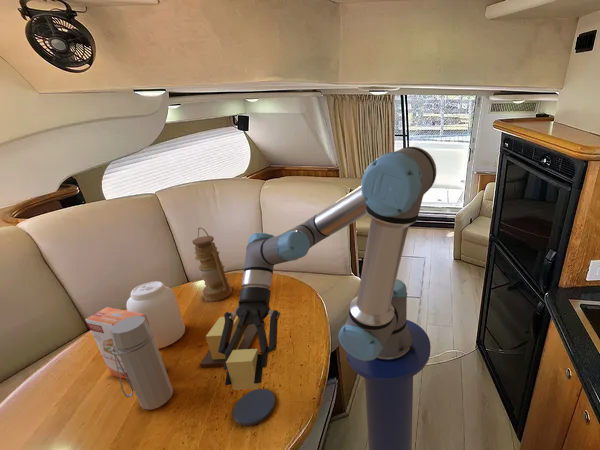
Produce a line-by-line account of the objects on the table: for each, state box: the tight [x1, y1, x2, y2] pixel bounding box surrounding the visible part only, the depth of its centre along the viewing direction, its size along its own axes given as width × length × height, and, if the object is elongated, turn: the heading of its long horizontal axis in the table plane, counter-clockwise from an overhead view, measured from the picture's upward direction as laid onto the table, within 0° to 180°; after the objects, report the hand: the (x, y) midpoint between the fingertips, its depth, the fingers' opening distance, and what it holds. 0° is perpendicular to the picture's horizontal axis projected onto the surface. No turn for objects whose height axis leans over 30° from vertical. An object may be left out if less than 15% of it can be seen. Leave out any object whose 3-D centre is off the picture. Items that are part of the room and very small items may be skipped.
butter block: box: [205, 315, 244, 360], centre depth 98 cm, size 6×9×9 cm, turn 4°
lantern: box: [191, 227, 233, 303], centre depth 125 cm, size 15×10×30 cm
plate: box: [232, 388, 276, 427], centre depth 82 cm, size 10×10×1 cm
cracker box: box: [85, 306, 167, 381], centre depth 88 cm, size 14×6×21 cm, turn 76°
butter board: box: [199, 324, 258, 368], centre depth 103 cm, size 12×19×1 cm, turn 4°
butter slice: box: [226, 348, 265, 391], centre depth 77 cm, size 6×4×9 cm, turn 94°
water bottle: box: [110, 316, 174, 411], centre depth 79 cm, size 9×8×25 cm
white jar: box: [126, 280, 186, 350], centre depth 103 cm, size 12×12×20 cm
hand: (243, 383), depth 75 cm, fingers closed on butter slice, 6 cm apart
